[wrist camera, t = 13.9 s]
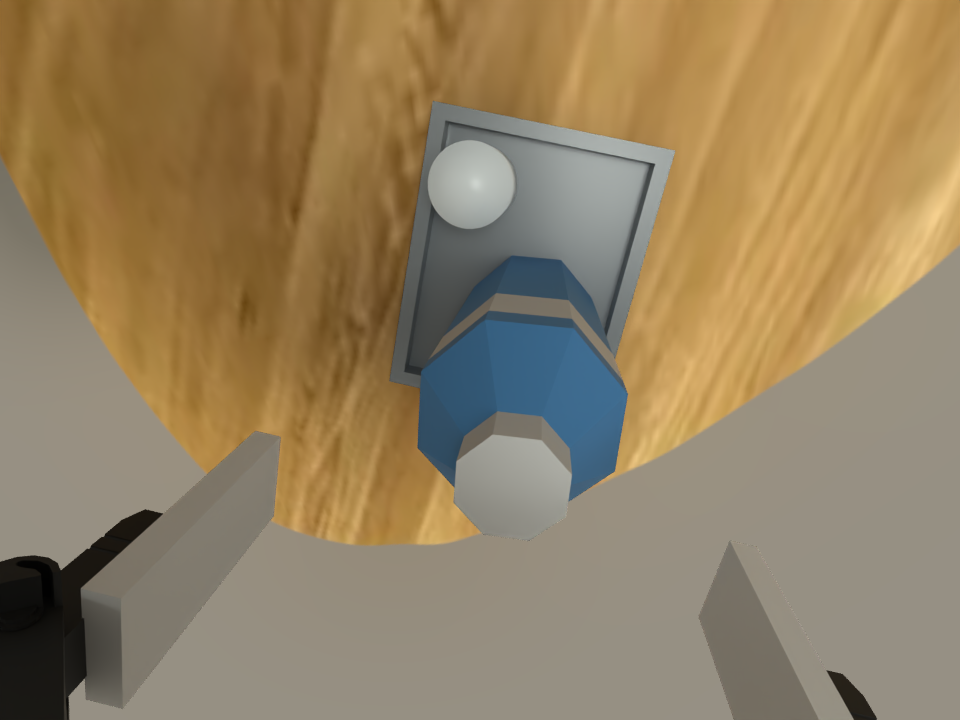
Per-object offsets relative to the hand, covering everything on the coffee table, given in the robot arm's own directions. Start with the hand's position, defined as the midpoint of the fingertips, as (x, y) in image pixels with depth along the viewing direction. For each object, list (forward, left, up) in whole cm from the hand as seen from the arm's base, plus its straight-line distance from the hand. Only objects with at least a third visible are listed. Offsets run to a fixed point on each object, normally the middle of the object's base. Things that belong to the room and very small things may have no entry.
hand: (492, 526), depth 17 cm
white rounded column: (-5, +8, -28) cm, 29 cm away
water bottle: (+1, 0, -28) cm, 28 cm away
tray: (-1, +3, -29) cm, 29 cm away
